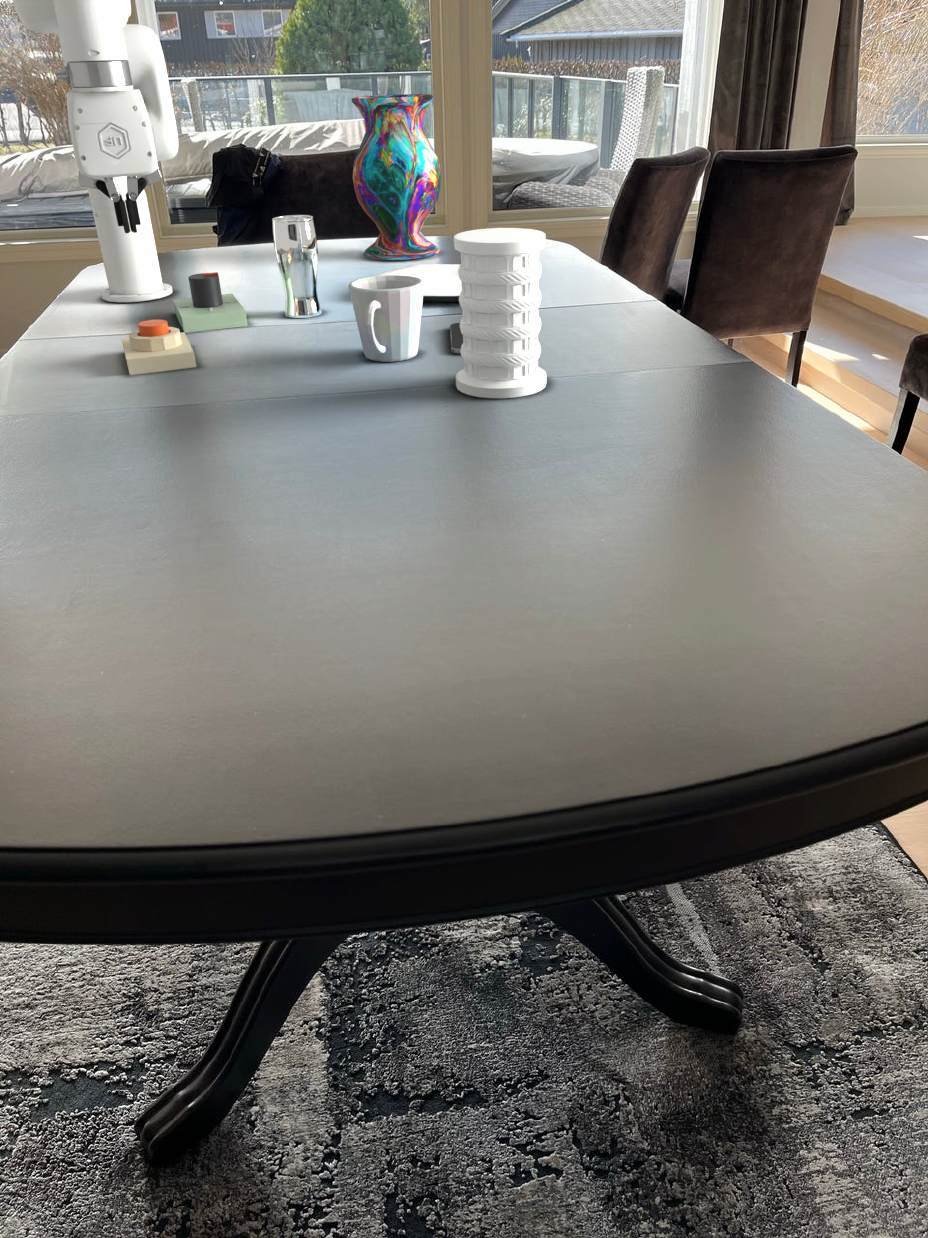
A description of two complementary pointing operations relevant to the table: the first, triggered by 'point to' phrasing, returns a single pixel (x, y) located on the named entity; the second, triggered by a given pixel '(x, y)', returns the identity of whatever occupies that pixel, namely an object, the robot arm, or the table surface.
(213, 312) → the dial panel
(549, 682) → the table surface
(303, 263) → the beer glass
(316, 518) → the table surface
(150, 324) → the button
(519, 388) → the decorative container
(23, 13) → the robot arm
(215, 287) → the dial
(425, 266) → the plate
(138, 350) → the button block
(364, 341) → the mug
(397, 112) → the vase
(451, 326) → the smartphone
